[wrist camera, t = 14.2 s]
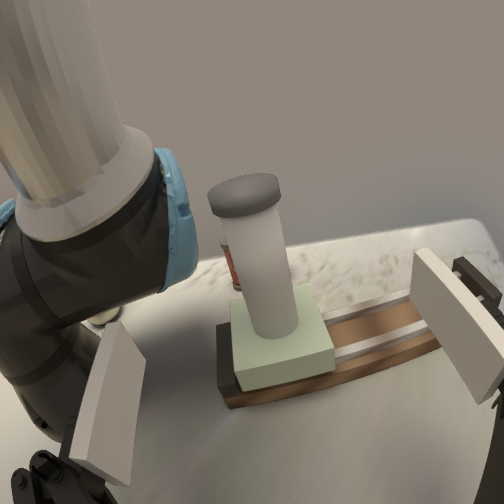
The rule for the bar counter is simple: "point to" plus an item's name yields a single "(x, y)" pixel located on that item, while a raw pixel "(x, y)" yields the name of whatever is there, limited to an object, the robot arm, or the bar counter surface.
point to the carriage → (267, 290)
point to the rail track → (355, 341)
